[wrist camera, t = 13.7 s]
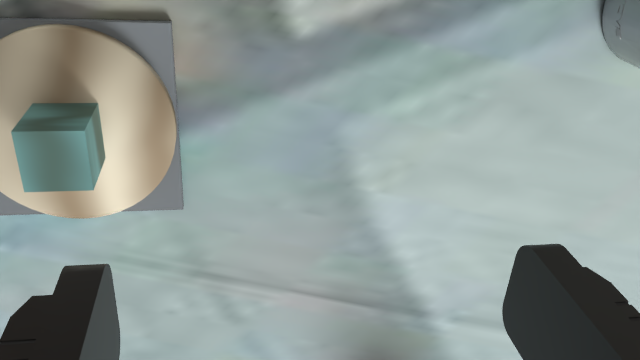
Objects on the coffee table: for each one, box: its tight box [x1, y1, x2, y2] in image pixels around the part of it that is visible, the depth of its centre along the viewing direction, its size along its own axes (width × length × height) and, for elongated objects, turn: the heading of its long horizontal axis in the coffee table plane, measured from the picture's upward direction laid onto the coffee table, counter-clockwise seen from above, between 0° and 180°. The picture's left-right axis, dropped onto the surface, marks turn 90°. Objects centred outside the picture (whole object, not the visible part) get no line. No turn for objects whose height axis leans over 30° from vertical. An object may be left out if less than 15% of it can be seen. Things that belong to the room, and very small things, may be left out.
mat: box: [0, 18, 184, 215], centre depth 39 cm, size 14×14×1 cm
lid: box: [0, 24, 177, 218], centre depth 37 cm, size 14×14×6 cm
